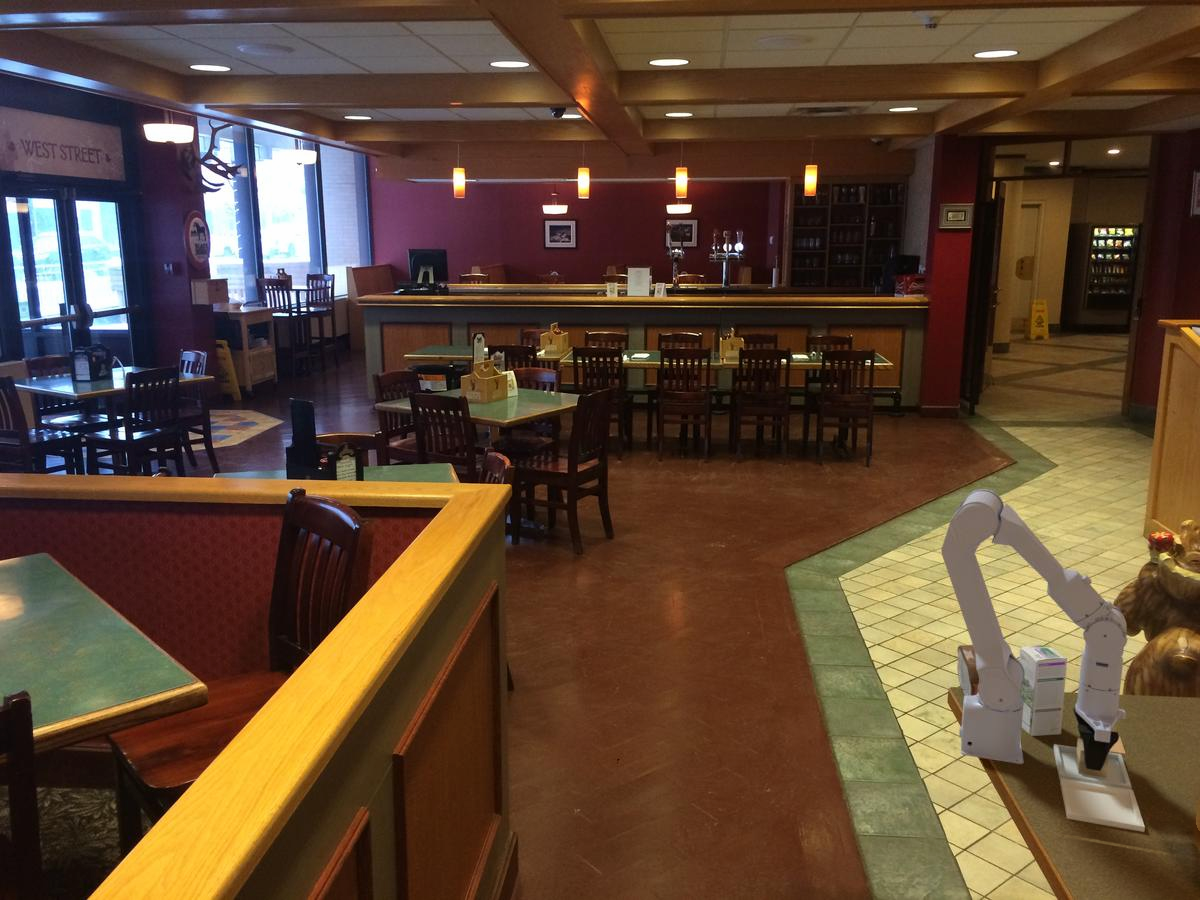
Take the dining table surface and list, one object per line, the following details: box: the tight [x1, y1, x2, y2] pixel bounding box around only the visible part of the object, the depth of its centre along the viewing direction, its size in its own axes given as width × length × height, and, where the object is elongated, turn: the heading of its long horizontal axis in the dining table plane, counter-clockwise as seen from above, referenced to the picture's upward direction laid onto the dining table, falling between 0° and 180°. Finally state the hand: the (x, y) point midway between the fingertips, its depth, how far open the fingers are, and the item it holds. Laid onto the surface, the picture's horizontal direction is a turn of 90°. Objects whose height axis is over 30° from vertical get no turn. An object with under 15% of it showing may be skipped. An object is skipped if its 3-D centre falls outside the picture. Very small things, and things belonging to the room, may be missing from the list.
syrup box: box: [1018, 644, 1068, 737], centre depth 163 cm, size 6×6×14 cm
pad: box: [1109, 735, 1126, 755], centre depth 159 cm, size 6×6×1 cm
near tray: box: [1059, 778, 1146, 833], centre depth 141 cm, size 10×10×1 cm
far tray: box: [1053, 743, 1132, 790], centre depth 151 cm, size 10×10×1 cm
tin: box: [957, 644, 979, 697], centre depth 177 cm, size 15×3×8 cm, turn 168°
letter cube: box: [1075, 737, 1109, 777], centre depth 151 cm, size 4×4×4 cm
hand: (1091, 761), depth 151 cm, fingers closed on letter cube, 4 cm apart
